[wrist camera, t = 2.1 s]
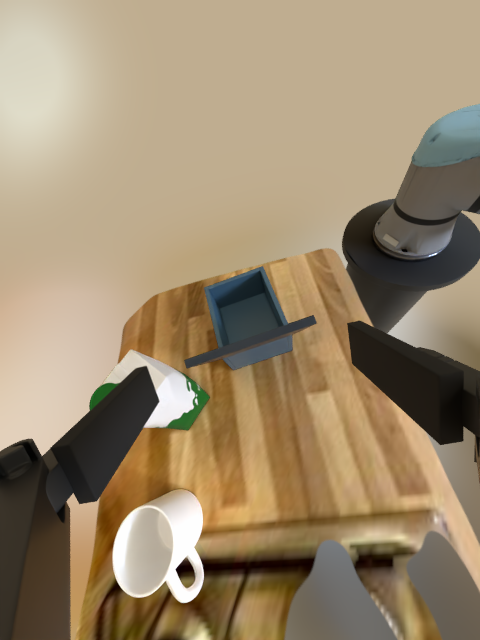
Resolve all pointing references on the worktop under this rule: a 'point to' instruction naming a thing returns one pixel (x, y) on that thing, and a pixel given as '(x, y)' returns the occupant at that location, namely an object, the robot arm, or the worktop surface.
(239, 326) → the storage box
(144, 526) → the cup
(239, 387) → the worktop surface
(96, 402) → the milk carton
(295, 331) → the lid
